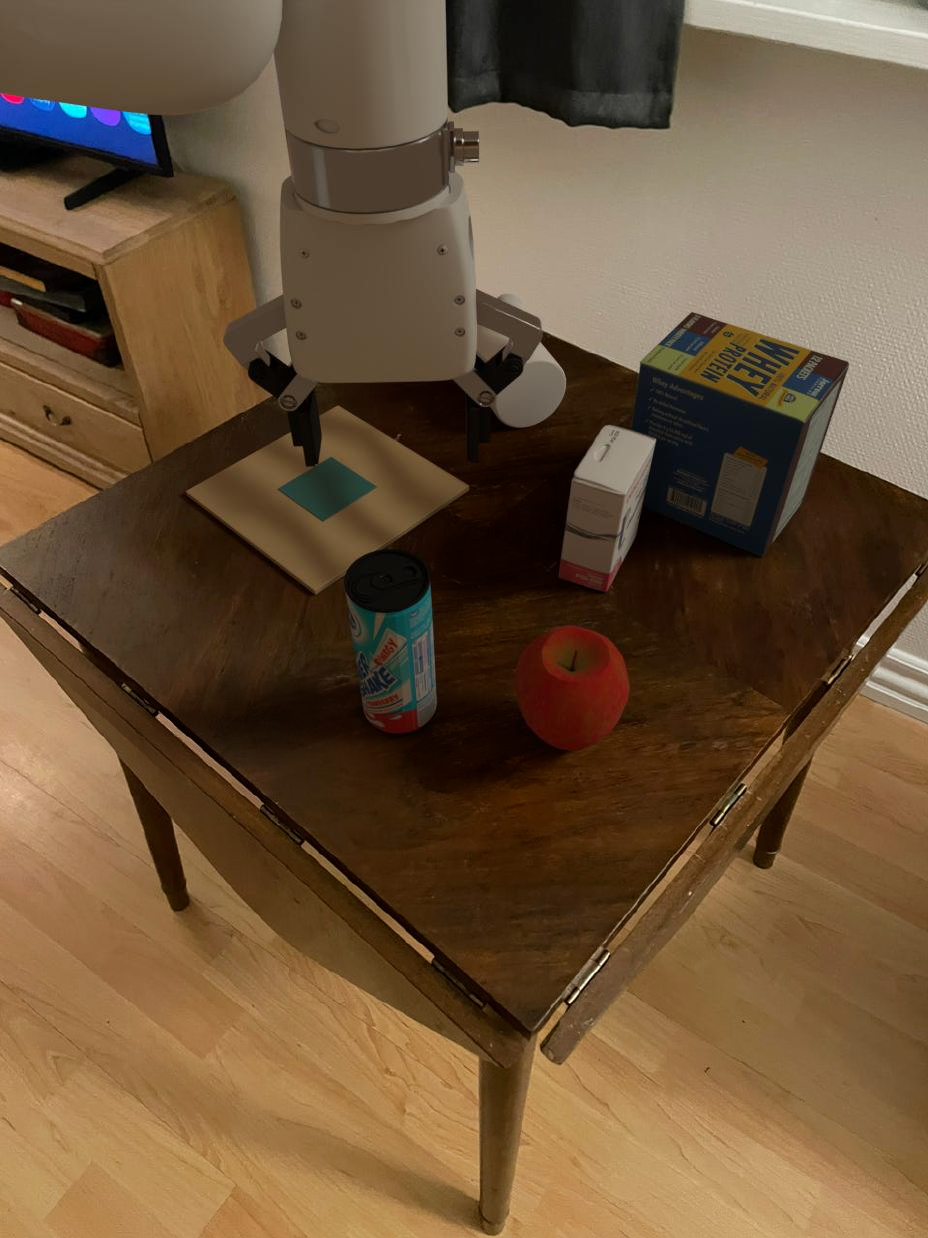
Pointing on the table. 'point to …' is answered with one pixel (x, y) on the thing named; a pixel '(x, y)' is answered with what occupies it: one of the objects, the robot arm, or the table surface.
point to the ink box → (605, 506)
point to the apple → (571, 686)
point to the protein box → (733, 428)
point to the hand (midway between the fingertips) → (393, 450)
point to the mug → (524, 380)
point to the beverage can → (393, 639)
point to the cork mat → (327, 498)
